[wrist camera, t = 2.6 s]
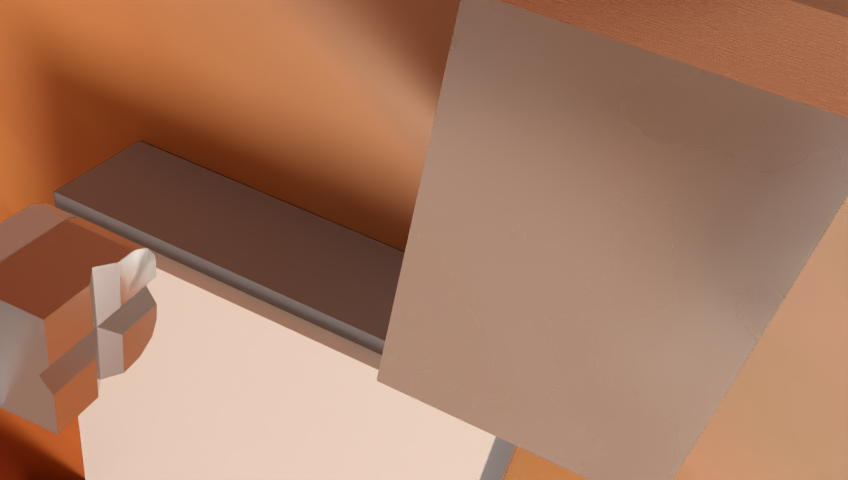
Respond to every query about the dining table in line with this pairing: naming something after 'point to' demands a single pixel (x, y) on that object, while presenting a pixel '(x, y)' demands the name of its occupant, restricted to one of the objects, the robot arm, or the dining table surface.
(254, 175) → the dining table surface
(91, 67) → the dining table surface
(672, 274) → the housing
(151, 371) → the stand
